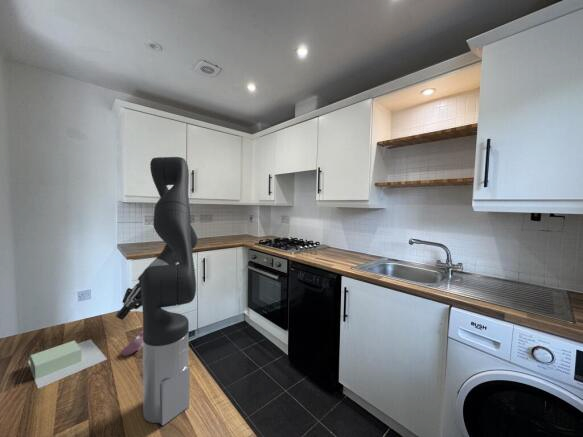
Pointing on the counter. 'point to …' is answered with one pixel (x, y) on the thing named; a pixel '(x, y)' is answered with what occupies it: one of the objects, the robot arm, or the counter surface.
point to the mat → (88, 358)
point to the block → (55, 359)
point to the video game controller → (134, 345)
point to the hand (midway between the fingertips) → (118, 318)
